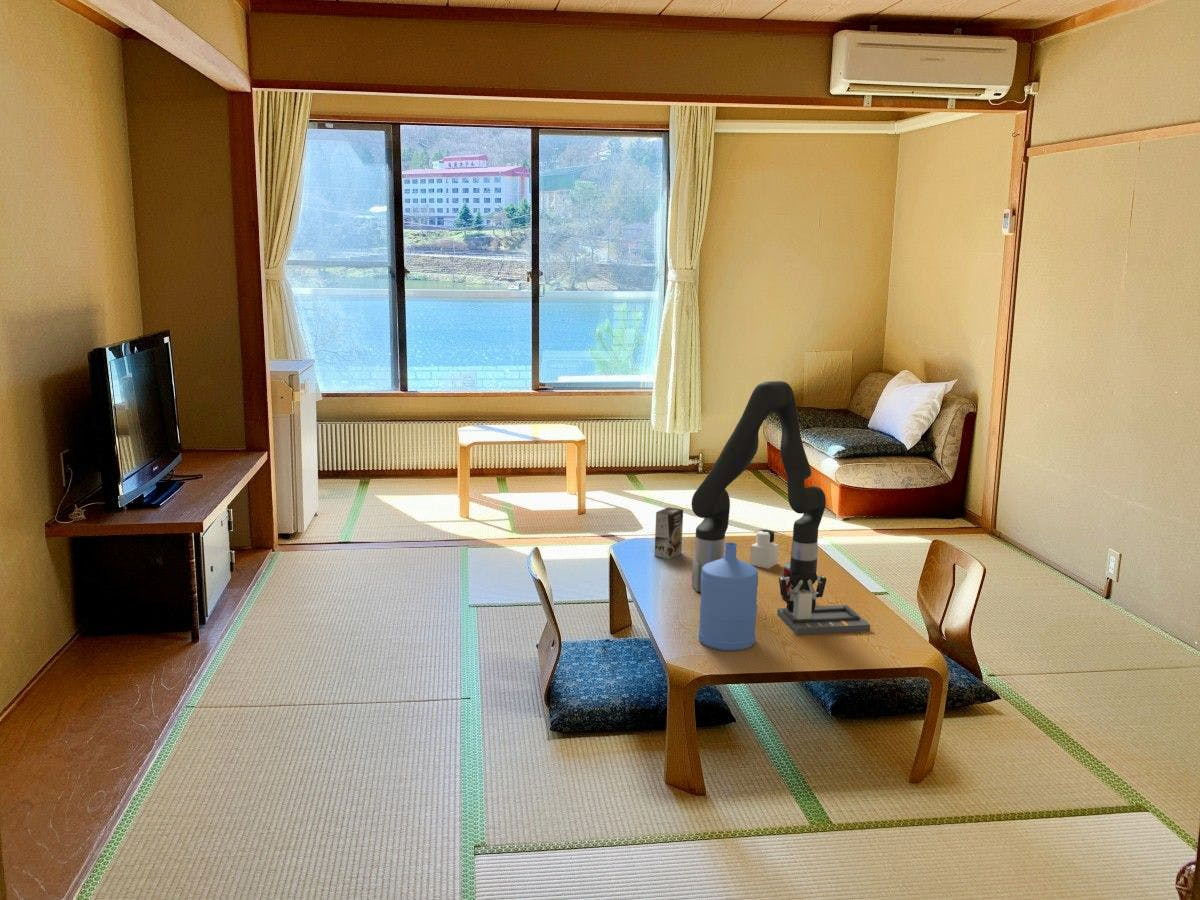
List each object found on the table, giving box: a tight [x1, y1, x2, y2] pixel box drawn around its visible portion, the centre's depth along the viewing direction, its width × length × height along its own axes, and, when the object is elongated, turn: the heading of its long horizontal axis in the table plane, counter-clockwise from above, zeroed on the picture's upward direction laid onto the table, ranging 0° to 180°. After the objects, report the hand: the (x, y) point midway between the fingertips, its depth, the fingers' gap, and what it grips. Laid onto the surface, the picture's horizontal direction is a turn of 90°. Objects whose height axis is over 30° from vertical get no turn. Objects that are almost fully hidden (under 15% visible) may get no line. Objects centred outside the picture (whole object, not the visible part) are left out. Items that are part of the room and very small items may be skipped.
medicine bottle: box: [749, 529, 779, 570], centre depth 345 cm, size 7×7×12 cm
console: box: [776, 604, 871, 636], centre depth 294 cm, size 22×16×3 cm
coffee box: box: [654, 506, 684, 560], centre depth 354 cm, size 9×6×16 cm
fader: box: [791, 590, 812, 620], centre depth 292 cm, size 4×6×8 cm, turn 10°
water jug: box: [698, 542, 759, 652], centre depth 277 cm, size 16×16×28 cm
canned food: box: [781, 561, 791, 602], centre depth 313 cm, size 8×8×11 cm
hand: (800, 611), depth 293 cm, fingers open, 5 cm apart
